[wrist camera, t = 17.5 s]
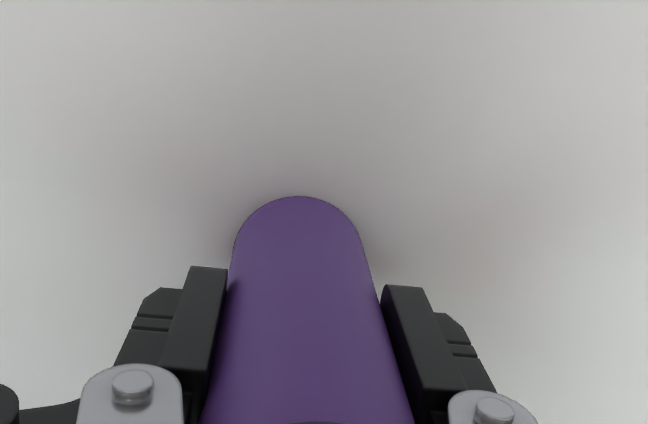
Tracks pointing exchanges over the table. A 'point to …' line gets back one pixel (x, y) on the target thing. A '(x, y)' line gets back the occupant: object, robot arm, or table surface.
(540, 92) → the table surface
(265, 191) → the table surface
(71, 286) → the table surface
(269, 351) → the glue stick
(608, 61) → the table surface
